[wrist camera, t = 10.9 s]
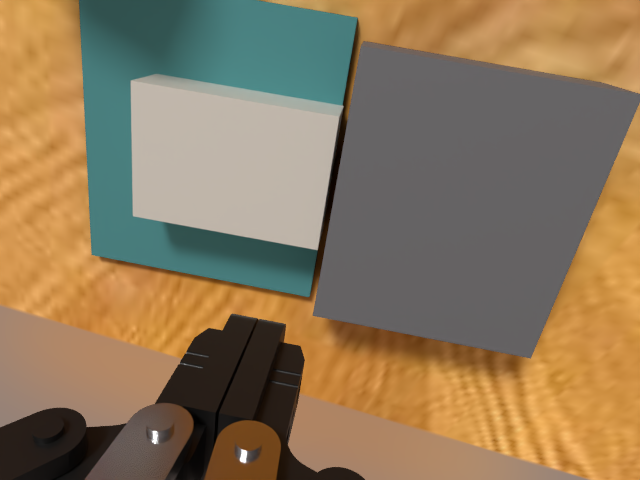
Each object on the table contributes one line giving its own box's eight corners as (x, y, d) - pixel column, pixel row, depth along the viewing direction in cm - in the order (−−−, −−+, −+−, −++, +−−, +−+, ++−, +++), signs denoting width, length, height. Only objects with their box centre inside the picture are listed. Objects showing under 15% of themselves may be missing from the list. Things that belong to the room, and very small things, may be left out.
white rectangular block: (343, 105, 26) (339, 116, 23) (323, 227, 29) (317, 250, 26) (156, 73, 26) (130, 80, 23) (155, 197, 29) (133, 216, 26)
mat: (357, 17, 24) (357, 17, 24) (310, 292, 31) (309, 297, 31) (84, -30, 25) (77, -31, 24) (96, 250, 32) (91, 254, 31)
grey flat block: (603, 82, 24) (642, 95, 21) (512, 317, 30) (530, 358, 27) (364, 41, 25) (361, 45, 21) (320, 280, 31) (312, 315, 27)
